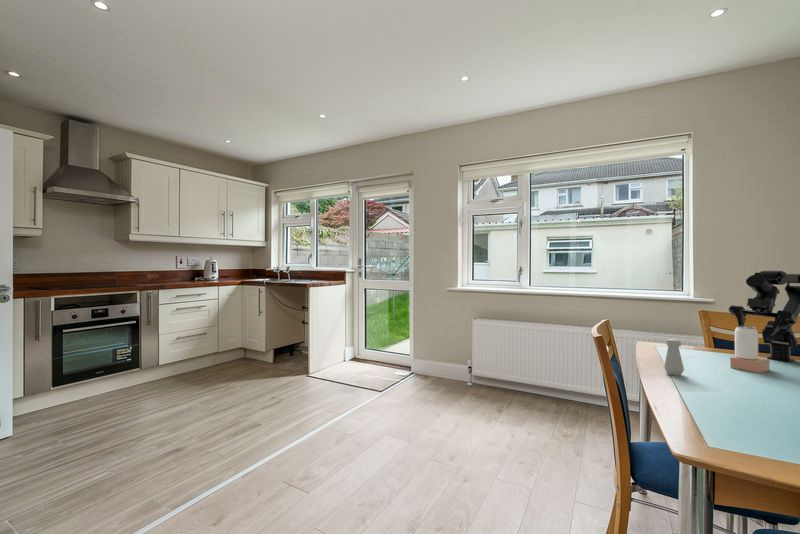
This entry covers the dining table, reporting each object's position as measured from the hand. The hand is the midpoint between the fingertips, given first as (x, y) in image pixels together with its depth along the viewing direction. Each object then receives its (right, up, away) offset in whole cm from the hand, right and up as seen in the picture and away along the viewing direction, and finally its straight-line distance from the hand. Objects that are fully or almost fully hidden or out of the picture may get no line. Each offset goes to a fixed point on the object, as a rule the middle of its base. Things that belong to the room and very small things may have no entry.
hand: (755, 333), depth 142 cm
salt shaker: (-41, -14, -11) cm, 44 cm away
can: (-8, -9, -5) cm, 13 cm away
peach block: (-8, -13, -6) cm, 16 cm away
